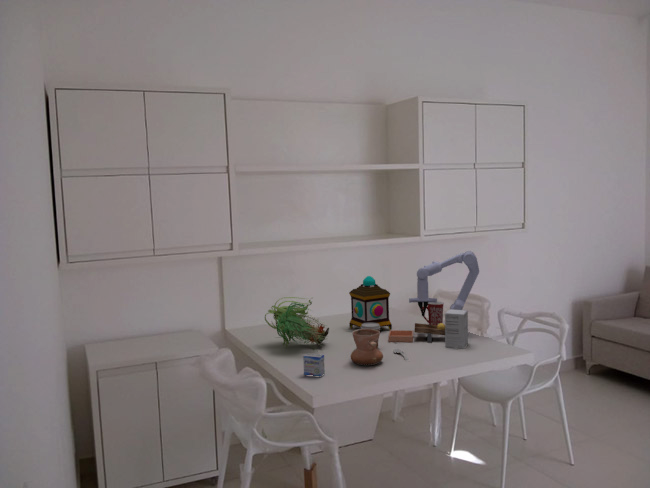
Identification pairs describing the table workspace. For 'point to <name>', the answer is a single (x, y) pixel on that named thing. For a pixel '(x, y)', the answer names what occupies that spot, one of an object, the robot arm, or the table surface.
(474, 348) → the table surface
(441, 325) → the ball
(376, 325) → the disposable coffee cup
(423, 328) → the brown wooden tray
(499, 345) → the table surface
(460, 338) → the supplement box
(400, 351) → the spoon
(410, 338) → the tray
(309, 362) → the medicine box
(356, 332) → the ceramic jug
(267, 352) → the table surface
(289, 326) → the plant
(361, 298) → the decorative lantern
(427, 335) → the seesaw stand
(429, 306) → the mug
